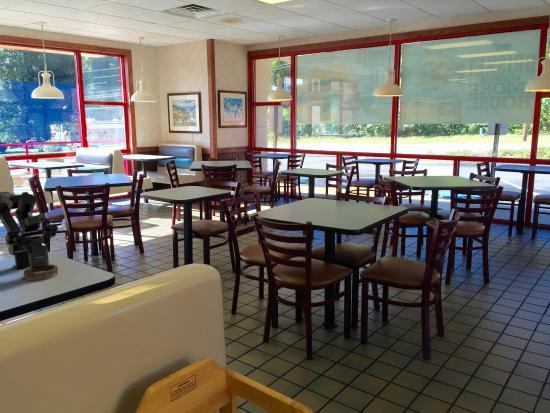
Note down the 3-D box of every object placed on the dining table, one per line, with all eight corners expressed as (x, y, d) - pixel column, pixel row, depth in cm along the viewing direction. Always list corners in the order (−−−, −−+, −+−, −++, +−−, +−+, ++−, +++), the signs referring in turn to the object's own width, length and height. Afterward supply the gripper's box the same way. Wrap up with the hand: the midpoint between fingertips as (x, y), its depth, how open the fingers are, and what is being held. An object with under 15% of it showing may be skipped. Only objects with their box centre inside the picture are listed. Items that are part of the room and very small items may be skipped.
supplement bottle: (38, 269, 182) (35, 239, 180) (26, 267, 185) (22, 238, 183) (53, 264, 189) (50, 235, 186) (41, 262, 191) (37, 234, 189)
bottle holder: (19, 276, 187) (18, 270, 186) (49, 269, 196) (49, 262, 195) (32, 282, 179) (31, 275, 179) (63, 274, 188) (62, 267, 188)
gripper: (3, 211, 179) (17, 244, 173) (53, 204, 192) (68, 234, 186) (-1, 228, 185) (12, 260, 180) (48, 220, 199) (61, 250, 193)
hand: (39, 251), depth 185 cm, fingers closed on supplement bottle, 7 cm apart
